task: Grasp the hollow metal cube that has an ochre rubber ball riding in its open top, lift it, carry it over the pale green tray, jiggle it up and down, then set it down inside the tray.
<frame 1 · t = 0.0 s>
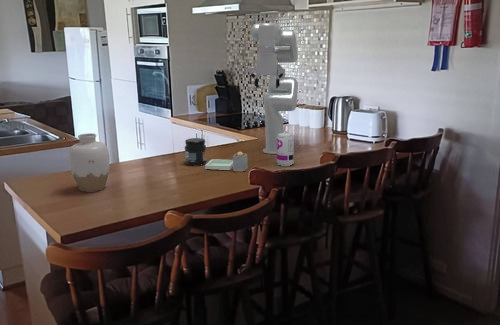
hand: (267, 87, 231), 37 cm above the kitchen counter, tool pointing down, fingers open, 9 cm apart
hollow metal cube: (240, 170, 226), on the kitchen counter, touching ball
supplement container: (196, 164, 240), on the kitchen counter
supplement can: (285, 165, 235), on the kitchen counter
tray: (220, 167, 232), on the kitchen counter
ball: (240, 154, 225), point 7 cm above the kitchen counter, touching hollow metal cube
vase: (92, 189, 202), on the kitchen counter
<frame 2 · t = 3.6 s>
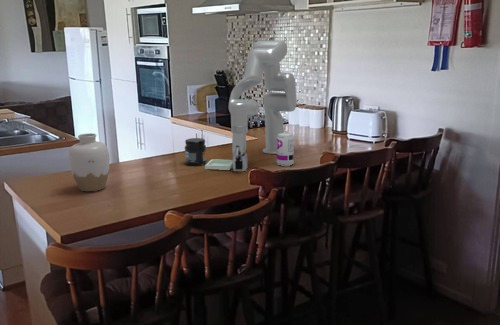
hand: (240, 167, 226), 2 cm above the kitchen counter, tool pointing down, fingers closed on hollow metal cube, 5 cm apart
hollow metal cube: (240, 170, 226), on the kitchen counter, touching ball, gripper
ball: (239, 154, 225), point 7 cm above the kitchen counter, tilted 10°, touching hollow metal cube
everything else where it was.
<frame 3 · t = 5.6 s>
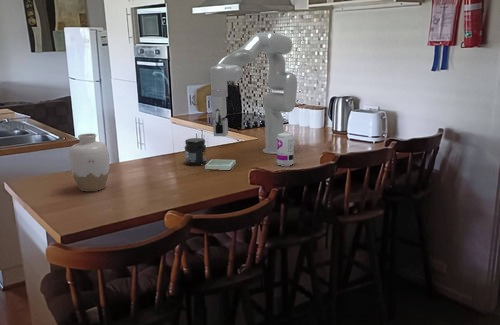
hand: (220, 131, 228), 17 cm above the kitchen counter, tool pointing down, fingers closed on hollow metal cube, 5 cm apart
hollow metal cube: (220, 135, 228), point 16 cm above the kitchen counter, touching ball, gripper
ball: (219, 119, 226), point 23 cm above the kitchen counter, tilted 27°, touching hollow metal cube
everything else where it was.
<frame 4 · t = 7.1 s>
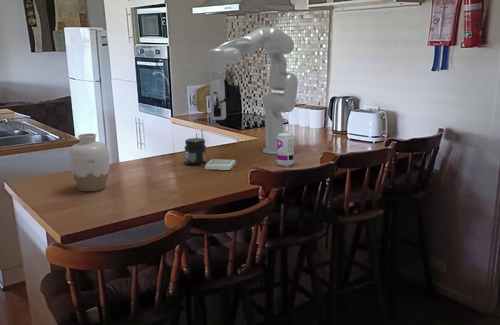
hand: (218, 115, 226), 25 cm above the kitchen counter, tool pointing down, fingers closed on hollow metal cube, 5 cm apart
hollow metal cube: (218, 118, 226), point 24 cm above the kitchen counter, touching ball, gripper
ball: (217, 102, 224), point 31 cm above the kitchen counter, tilted 26°, touching hollow metal cube
everything else where it was.
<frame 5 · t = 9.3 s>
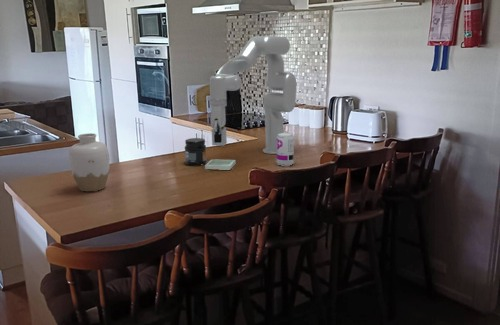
hand: (219, 140, 229), 13 cm above the kitchen counter, tool pointing down, fingers closed on hollow metal cube, 5 cm apart
hollow metal cube: (219, 144, 229), point 11 cm above the kitchen counter, touching ball, gripper
ball: (218, 128, 228), point 19 cm above the kitchen counter, tilted 22°, touching hollow metal cube
everything else where it was.
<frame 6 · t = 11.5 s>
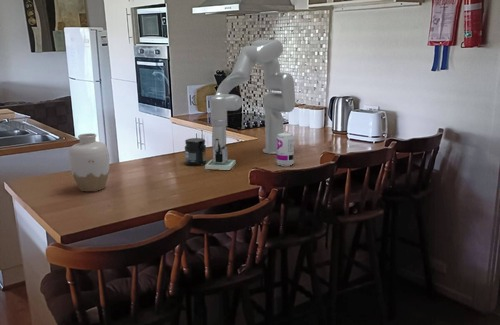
hand: (220, 160, 231), 4 cm above the kitchen counter, tool pointing down, fingers closed on hollow metal cube, 5 cm apart
hollow metal cube: (220, 163, 232), point 2 cm above the kitchen counter, touching ball, gripper
ball: (219, 147, 230), point 9 cm above the kitchen counter, tilted 22°, touching hollow metal cube
everything else where it was.
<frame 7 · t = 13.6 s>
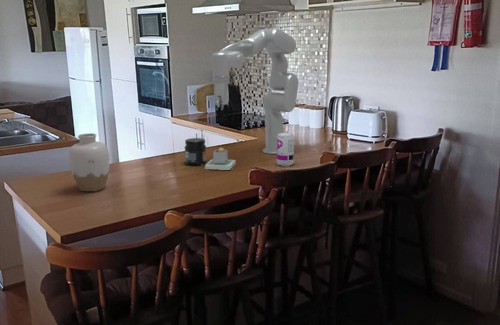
hand: (223, 116, 228), 24 cm above the kitchen counter, tool pointing down, fingers open, 9 cm apart
hollow metal cube: (220, 166, 232), point 1 cm above the kitchen counter, touching ball, tray
ball: (221, 150, 230), point 8 cm above the kitchen counter, tilted 17°, touching hollow metal cube
everything else where it was.
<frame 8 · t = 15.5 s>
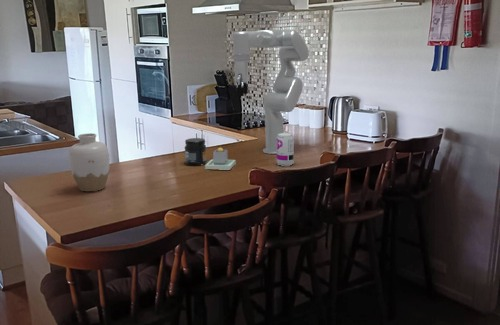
hand: (242, 94, 234), 33 cm above the kitchen counter, tool pointing down, fingers open, 9 cm apart
ball: (220, 150, 230), point 8 cm above the kitchen counter, tilted 10°, touching hollow metal cube
everything else where it was.
at the end: hollow metal cube inside the target area on the tray (0.2 cm from its centre), point 0.6 cm above the tray's base; hollow metal cube tilted 0°; ball inside the target area on the tray (0.4 cm from its centre), point 8.1 cm above the tray's base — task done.
